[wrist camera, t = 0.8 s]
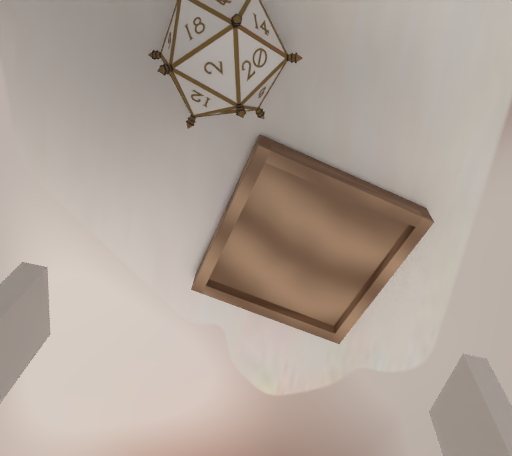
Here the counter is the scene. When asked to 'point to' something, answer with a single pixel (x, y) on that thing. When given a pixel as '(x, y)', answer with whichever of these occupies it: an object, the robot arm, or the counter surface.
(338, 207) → the walnut tray
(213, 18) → the game die
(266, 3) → the counter surface
